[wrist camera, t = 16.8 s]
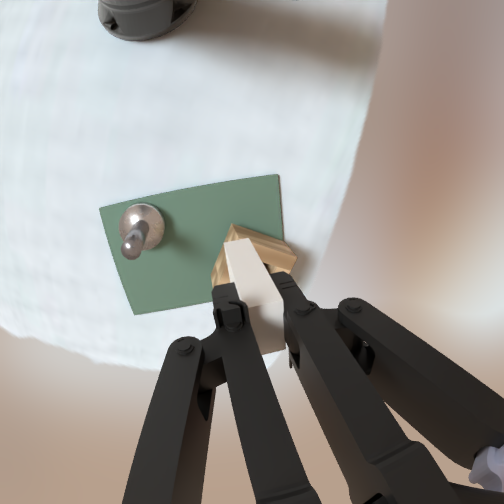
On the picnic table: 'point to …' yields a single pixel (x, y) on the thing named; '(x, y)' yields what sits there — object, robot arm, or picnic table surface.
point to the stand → (140, 229)
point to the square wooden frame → (268, 249)
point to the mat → (191, 239)
